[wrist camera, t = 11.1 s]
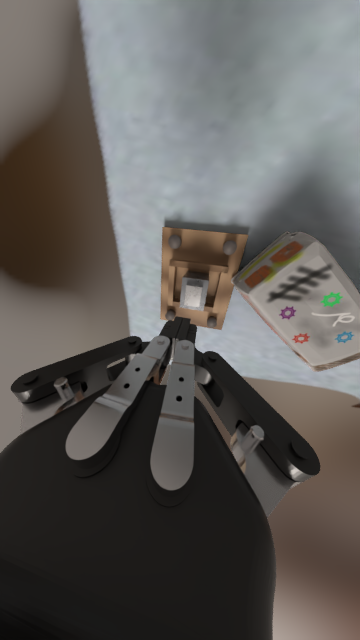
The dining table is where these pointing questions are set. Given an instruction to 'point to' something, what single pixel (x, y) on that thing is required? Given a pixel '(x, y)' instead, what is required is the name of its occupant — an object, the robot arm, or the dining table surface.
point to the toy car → (304, 300)
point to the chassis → (200, 256)
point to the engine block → (194, 290)
